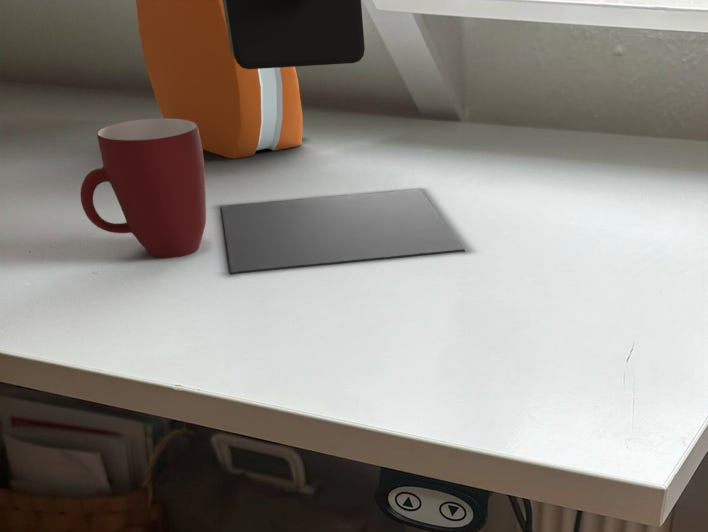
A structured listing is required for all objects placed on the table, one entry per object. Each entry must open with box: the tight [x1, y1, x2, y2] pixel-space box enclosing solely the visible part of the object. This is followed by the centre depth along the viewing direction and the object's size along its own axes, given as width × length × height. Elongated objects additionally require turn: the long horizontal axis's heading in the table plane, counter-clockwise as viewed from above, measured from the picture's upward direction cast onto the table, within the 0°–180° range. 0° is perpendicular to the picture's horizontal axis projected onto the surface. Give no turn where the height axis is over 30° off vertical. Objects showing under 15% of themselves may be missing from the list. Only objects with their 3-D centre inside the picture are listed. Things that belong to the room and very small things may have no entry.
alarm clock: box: [135, 0, 303, 159], centre depth 109 cm, size 22×10×23 cm, turn 42°
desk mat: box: [220, 188, 466, 275], centre depth 87 cm, size 20×20×1 cm
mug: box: [79, 117, 207, 259], centre depth 79 cm, size 11×8×10 cm
